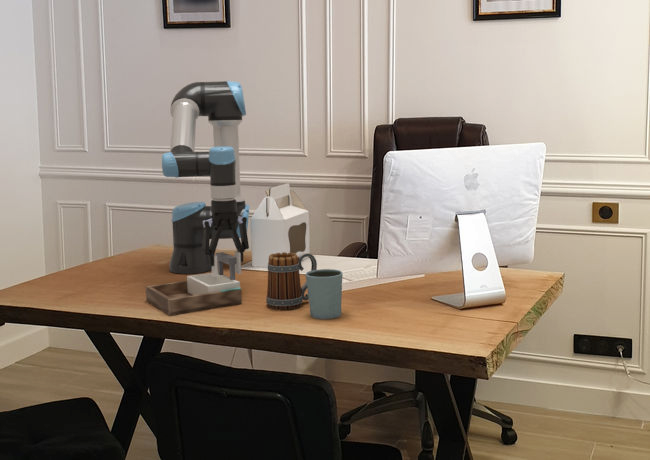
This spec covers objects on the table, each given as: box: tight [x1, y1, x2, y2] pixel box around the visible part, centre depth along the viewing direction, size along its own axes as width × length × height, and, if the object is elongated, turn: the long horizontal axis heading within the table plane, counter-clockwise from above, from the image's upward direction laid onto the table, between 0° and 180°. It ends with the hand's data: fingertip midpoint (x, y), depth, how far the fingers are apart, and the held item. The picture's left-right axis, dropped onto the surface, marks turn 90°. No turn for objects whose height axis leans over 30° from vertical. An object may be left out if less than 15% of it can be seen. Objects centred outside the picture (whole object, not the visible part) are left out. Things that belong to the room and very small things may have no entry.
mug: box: [265, 252, 318, 311], centre depth 242 cm, size 16×11×15 cm
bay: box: [145, 280, 243, 317], centre depth 248 cm, size 22×20×5 cm
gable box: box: [250, 182, 311, 269], centre depth 302 cm, size 22×13×28 cm, turn 158°
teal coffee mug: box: [305, 268, 343, 320], centre depth 231 cm, size 10×10×12 cm
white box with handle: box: [186, 251, 241, 295], centre depth 251 cm, size 11×16×12 cm, turn 31°
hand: (226, 274), depth 253 cm, fingers open, 7 cm apart
